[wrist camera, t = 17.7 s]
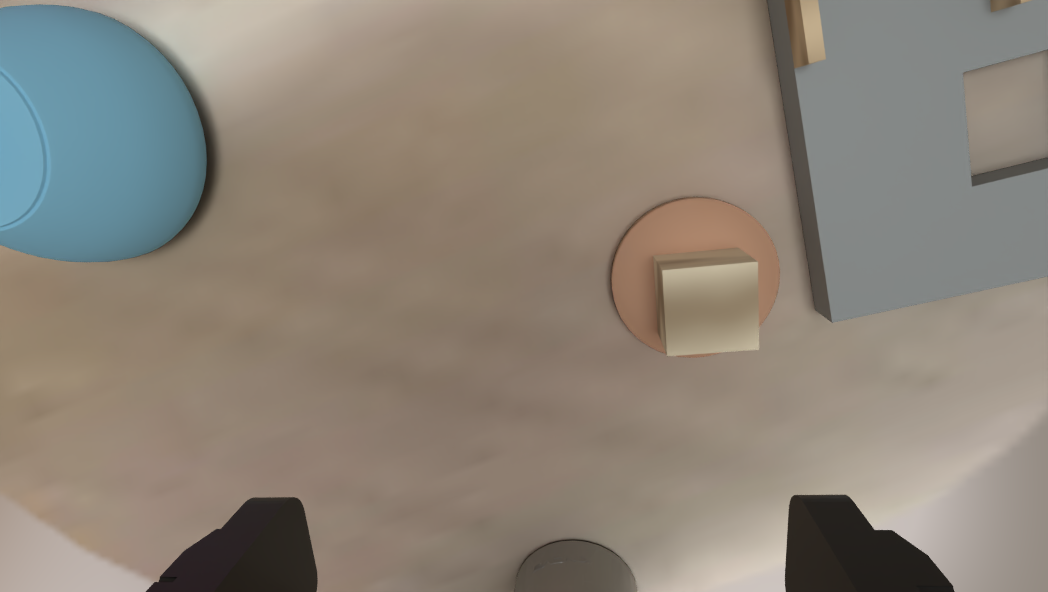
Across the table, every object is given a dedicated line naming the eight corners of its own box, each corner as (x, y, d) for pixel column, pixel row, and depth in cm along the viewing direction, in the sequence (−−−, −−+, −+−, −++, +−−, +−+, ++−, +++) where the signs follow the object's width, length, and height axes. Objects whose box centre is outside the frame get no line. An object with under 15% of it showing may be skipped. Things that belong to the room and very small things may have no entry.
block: (739, 326, 35) (759, 349, 32) (657, 332, 36) (667, 356, 32) (737, 247, 34) (757, 261, 30) (653, 255, 35) (662, 270, 31)
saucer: (785, 331, 36) (791, 338, 35) (630, 365, 38) (631, 372, 37) (758, 177, 34) (764, 179, 33) (594, 220, 36) (595, 223, 34)
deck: (1081, 252, 33) (1120, 260, 31) (815, 310, 36) (832, 322, 33) (1063, -241, 28) (1109, -277, 25) (746, -132, 30) (761, -155, 28)
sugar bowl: (256, 227, 38) (122, 265, 27) (66, 272, 40) (-130, 324, 29) (172, -15, 34) (-23, -86, 23) (-32, 50, 37) (-299, 12, 26)
